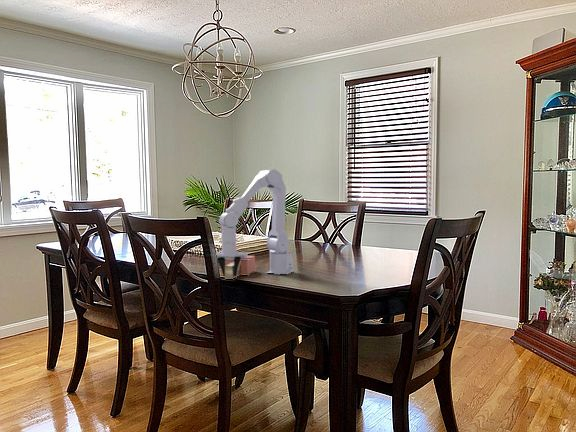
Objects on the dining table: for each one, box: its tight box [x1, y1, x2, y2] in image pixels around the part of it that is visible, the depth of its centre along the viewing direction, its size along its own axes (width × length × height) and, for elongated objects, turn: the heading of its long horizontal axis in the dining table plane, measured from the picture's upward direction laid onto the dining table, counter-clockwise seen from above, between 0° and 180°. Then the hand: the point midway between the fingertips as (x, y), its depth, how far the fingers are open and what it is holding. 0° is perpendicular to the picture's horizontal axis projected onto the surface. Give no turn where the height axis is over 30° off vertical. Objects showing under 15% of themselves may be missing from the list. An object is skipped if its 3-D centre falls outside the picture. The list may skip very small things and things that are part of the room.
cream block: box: [224, 261, 241, 280], centre depth 200 cm, size 12×3×6 cm, turn 168°
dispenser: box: [225, 255, 256, 274], centre depth 207 cm, size 10×10×7 cm
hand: (230, 275), depth 196 cm, fingers closed on cream block, 4 cm apart
